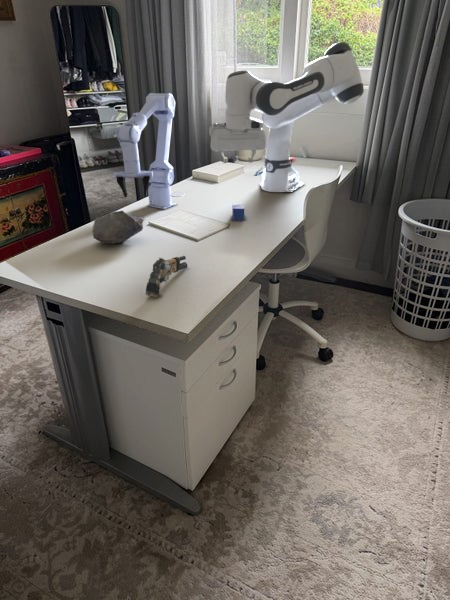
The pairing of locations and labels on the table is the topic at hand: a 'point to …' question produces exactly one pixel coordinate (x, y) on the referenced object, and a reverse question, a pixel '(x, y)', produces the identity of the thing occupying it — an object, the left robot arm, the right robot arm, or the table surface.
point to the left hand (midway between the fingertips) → (135, 196)
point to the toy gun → (163, 273)
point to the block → (238, 212)
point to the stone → (116, 227)
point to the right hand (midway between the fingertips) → (237, 162)
